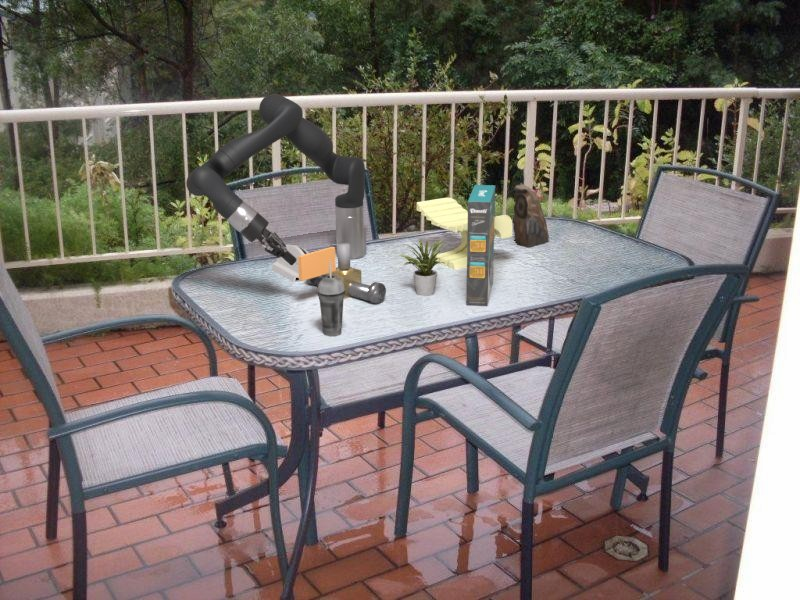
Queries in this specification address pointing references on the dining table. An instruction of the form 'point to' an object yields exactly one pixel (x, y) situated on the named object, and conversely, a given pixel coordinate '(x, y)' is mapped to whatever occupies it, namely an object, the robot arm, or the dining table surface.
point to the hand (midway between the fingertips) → (294, 262)
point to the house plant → (424, 268)
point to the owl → (528, 218)
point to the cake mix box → (480, 245)
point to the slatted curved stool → (457, 227)
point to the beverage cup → (331, 303)
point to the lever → (323, 261)
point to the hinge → (285, 267)
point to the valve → (355, 285)
